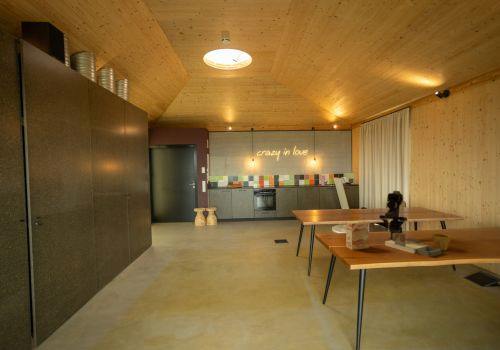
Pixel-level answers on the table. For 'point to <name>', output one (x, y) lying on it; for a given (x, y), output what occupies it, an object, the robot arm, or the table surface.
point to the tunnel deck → (414, 247)
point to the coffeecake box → (357, 235)
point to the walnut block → (398, 237)
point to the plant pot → (441, 241)
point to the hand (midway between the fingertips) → (392, 229)
